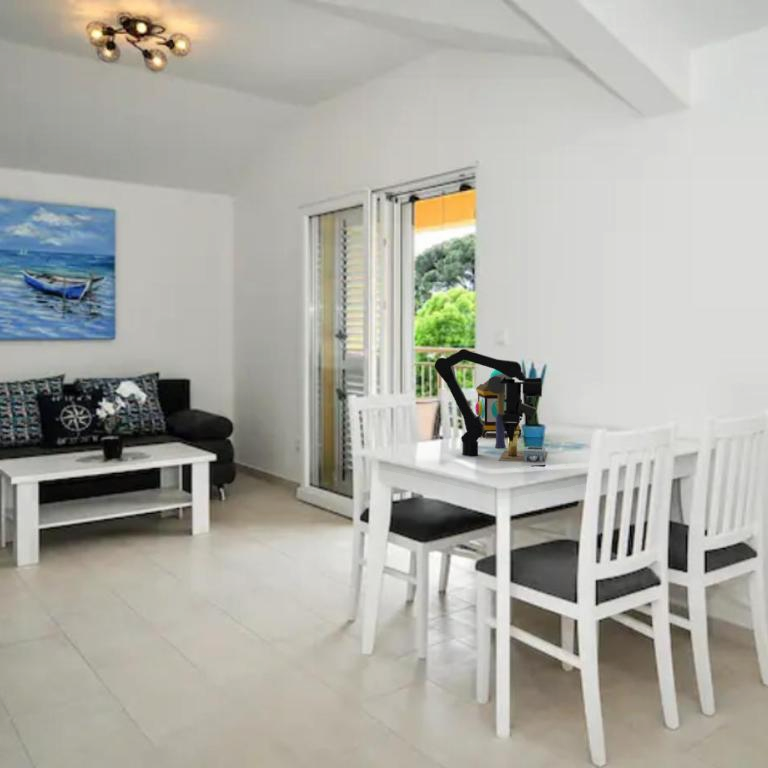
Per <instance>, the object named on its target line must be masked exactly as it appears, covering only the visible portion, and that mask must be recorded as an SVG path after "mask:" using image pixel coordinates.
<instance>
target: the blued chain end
mask: <svg viewBox="0 0 768 768" xmlns="http://www.w3.org/2000/svg"><path fill="white" fill-rule="evenodd" d="M545 450H546V446H525V448H523V451H524V462H523V463H528V462H527V460H528V459H529V461H530V462H529V463H538V462H537V460H540V462H542V460H544V457H545Z"/></svg>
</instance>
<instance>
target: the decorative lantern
mask: <svg viewBox="0 0 768 768" xmlns="http://www.w3.org/2000/svg"><path fill="white" fill-rule="evenodd" d="M498 374H503V373H501V372H499V371H497V370H495V369H493V371H492V372H490V375H489V379H490V378H491V377H493V376H495V375H498ZM487 384H488V380H486V381H485V382H484V383H480V384H479V385H478V386H477V387H475V391H476V393H477V402H476V403H475V406H474V408H475V415H476V416H478V415H480V416H481V419H482V421H483V423H484V424H485V425H484V432H483V434H482V436H481V437H482V438H483V439H485V438H486V435H487V434H486V433H489V432H490V433H491V432H493V433H496V416H497V407H498V394H495V393H492V392H491V391H490V390H489V389H488V385H487ZM504 399H505V393H504ZM504 410H505V402H504ZM517 431H519V434H517V438H521V437H522V429H521V426H520V423H519V424H518V425H517ZM505 433H506V430H505Z"/></svg>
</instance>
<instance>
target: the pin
mask: <svg viewBox="0 0 768 768" xmlns="http://www.w3.org/2000/svg"><path fill="white" fill-rule="evenodd" d="M517 434H519V431H517V430H515V432H514V437H513V441H510V440H509V438H508V437H507V450H508V456H517V451H518V435H517ZM505 435H507V433H506V432H505Z"/></svg>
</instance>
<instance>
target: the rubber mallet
mask: <svg viewBox="0 0 768 768" xmlns="http://www.w3.org/2000/svg"><path fill="white" fill-rule="evenodd" d="M504 377H506V378H507V379H514V378H511V377H508V376H506V375H505V374H498V375H495V376H493V377H491V378H490V377H489V378H488V380H487V381H488V384H487V385H488V389H489V390H490V391H491V392H492V393H495V394H498V407H497V416H496V432H495V433H496V434H495V445H494V448H495V449H506V440H505V439H506V437H505V435H506V432H505V428H504V425H503V423H502V415H504V393H505V384H501V383H500V381H501V380H503V378H504Z"/></svg>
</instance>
